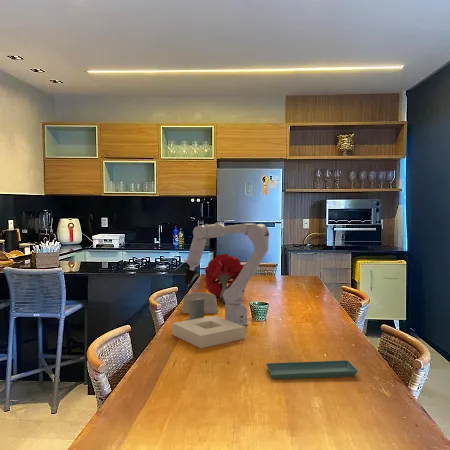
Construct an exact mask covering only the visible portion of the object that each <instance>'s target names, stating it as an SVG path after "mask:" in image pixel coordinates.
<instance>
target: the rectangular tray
mask: <svg viewBox="0 0 450 450" xmlns="http://www.w3.org/2000/svg"><path fill="white" fill-rule="evenodd" d="M265 365H266V367H267V369H268V371H269V373H270V376H271V377H272V380H273V379H274V380H282V379H285V380H289V379H292V380H293V379H318V378H319V379H322V378H344V377H345V378H350V377H351V378H352V377H356V375H357V373H358V372H359V370H358V368H356V367H355V366H354V364H353V363H351V362H350V361H349V360H346V359H345V360H322V361H319V360H318V361H296V362H295V361H293V362H291V361H290V362H268V363H266V364H265Z"/></svg>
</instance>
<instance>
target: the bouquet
mask: <svg viewBox="0 0 450 450" xmlns="http://www.w3.org/2000/svg"><path fill="white" fill-rule="evenodd" d="M241 263H242V262H241V261H240V259H239V257H237V256H230V255H229V254H228V253H225V254H224V253H223V254H217V255H216V256H215V257H213V259H212V258H211V260H210V261H209V262H208V264H207V266H205V269H204V274H205V278H204V282H205V283H206V285H205V289H206V290H207V291H208V293H209V294H212V295H215V296H216V298H219V299H220V301H221V303H224V304H225V300H224V298H223V293H224V291H225V290H226V289H228V288H229V287H230V286H231V284H232V283H233V282H234V281H235V280H236V278H237V277H238V275H239V274H240V272H241V270H242V269H243V267H244V266H243V265H242V264H241Z"/></svg>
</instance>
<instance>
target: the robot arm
mask: <svg viewBox="0 0 450 450" xmlns="http://www.w3.org/2000/svg"><path fill="white" fill-rule="evenodd" d="M237 233H239V234H240V233H242V234H243V235H244V236H247V237H248V239H249V240H250V242H251V243H252V245H253V249H254V250H253V251H252V253H251V254H250V256H249V257H248V259H247V261H246V262H245V264H244V266H243V269H242V270H241V272H240V274H239V275H238V277H237V278H236V280H235V281H234V282H233V283H232V284H231V286H230V287H229V288H228V289H226V290H225V291H224V293H223V298H224V300H225V303H224V319H226V320H228V321H231V322H234V323H237V324H239V325H242V326H248V325H249V323H248V309H247V306H245V305H244V304H243V297H244V296H245V289H246V288H247V285H248V283H249V281H250V280H251V278H252V277H253V276H254V274H255V272H256V270H257V268H258V267H259V266H260V264H261V263H262V261H263V259H264V258H265V256H266V255H267V253H268V251H269V240H270V239H269V238H270V232H269V229H268V226H266V225H265V224H264V223H258V224H257V223H240V224H239V223H238V224H234V225H232V224H231V225H224V224H223V223H220V222H219V221H218V222H215V223H213V224H208V223H205V224H204V225H203V224H202V225H197V226H195V227H194V228H193V229H192V235H193V238H192V241H191V244H190V247H189V252H188V255H187V258H184V259H183V261H184V263H185V267H184V271H185V278H184V284H187V285H190V284H191V283H192V281H193V279H194V277H195V276H196V275H197V274H198V273H199V271H198V269H197V268H198V267H199V266H200V264H201V260H202V256H203V252H204V249H205V246H206V242H207V239H213V238H215V239H216V238H223V237H224V236H225V235H226V234H237ZM196 269H197V270H196Z"/></svg>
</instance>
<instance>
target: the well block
mask: <svg viewBox="0 0 450 450" xmlns="http://www.w3.org/2000/svg"><path fill="white" fill-rule="evenodd" d="M171 324H172V325H171V327H172V328H171V332H172V334H171V335H172V336H174V337H176V338H179V339H180V340H182V341H184V342H187V343H189V344H190V345H193V346H194V347H197V348H199V349H204V348H208V347H209V348H210V347H212V346H213V347H214V346H217V345H222V344H226V343H230V342H235V341H240V340H244V339H245V340H246V325H244V326H242V325H239V324H237V323H234V322H231V321H228V320H226V319H225V318H223V317H221V316H220V317H219V316H218V315H211V316H210V315H209V316H204V318H198V319H192V320H187V319H186V320H182V321H176V322H172V323H171Z"/></svg>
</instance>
